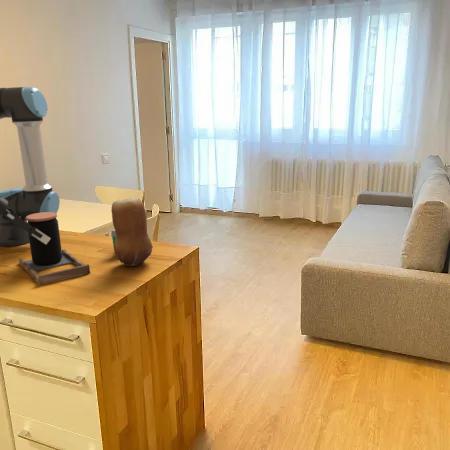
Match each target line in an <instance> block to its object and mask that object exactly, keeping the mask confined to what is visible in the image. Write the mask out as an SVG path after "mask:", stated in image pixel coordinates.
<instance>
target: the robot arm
mask: <svg viewBox="0 0 450 450" xmlns="http://www.w3.org/2000/svg"><path fill="white" fill-rule="evenodd" d="M47 113H48V104H47V100H46V98H45V95H44V94H43V93H42V91H41V90H40V89H39V88H36V87H31V86H22V87H21V86H19V87H0V120H2V119H5V118H10V119H11V123H12V124H13V125H14V126H16V128H17V135H18V136H17V137H18V142H19V150H20V156H21V161H22V169H23V177H24V182H25V184H24V185H25V186H24V187H14V188H13V187H12V188H8V189H4V190H0V247H15V246H22V245H25V244H28V243H29V244H30V242H29V236H31V235H32V236H34V237H35V238H37V239H38V240H40V241H41V242H43V243H44V244H47V243H48V242H49V240H50V239H51V238H50V237H48V236H47V235H45V234H44V233H42V232H41V231H39V230H38V229H36V228H35V227H32V226H31V225H29V224H28V223H27V222H28V221H27V219H26V217H27V216H28V215H31V214H35V213H42V212H53V213H56V214H57V213H58V211H59V209H60V196H59V194H58V193H57V192H56V191H54V190H53V186H52V185H51V184H49V183H48V176H47V168H46V163H45V162H46V161H45V154H44V149H43V148H44V146H43V141H42V139H43V138H42V133H41V124H42V123H43V122H44V120H43V119H44V117H46V116H47ZM57 215H58V214H57ZM31 228H32V229H31ZM30 229H31V230H30ZM29 230H30V232H29ZM28 233H29V235H28Z"/></svg>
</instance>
